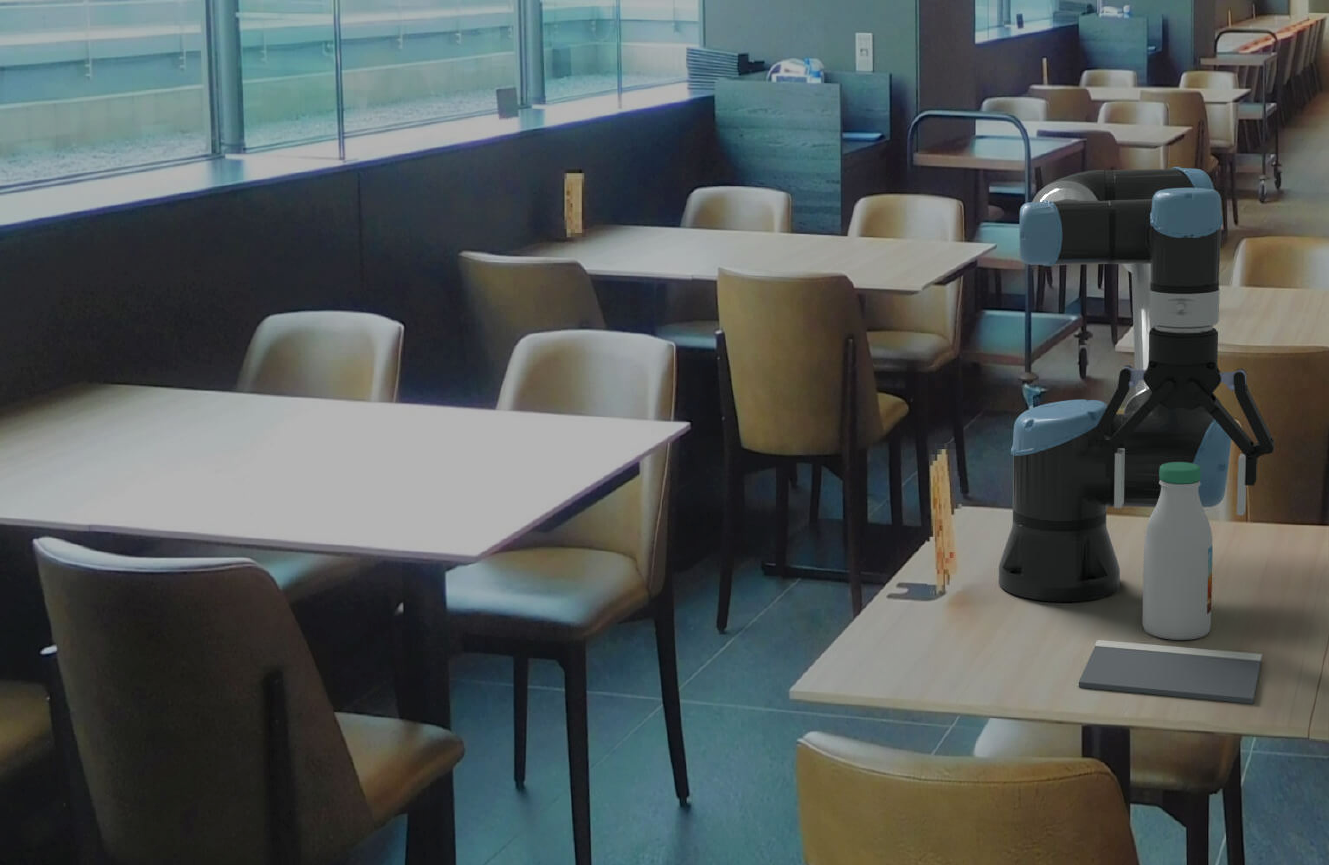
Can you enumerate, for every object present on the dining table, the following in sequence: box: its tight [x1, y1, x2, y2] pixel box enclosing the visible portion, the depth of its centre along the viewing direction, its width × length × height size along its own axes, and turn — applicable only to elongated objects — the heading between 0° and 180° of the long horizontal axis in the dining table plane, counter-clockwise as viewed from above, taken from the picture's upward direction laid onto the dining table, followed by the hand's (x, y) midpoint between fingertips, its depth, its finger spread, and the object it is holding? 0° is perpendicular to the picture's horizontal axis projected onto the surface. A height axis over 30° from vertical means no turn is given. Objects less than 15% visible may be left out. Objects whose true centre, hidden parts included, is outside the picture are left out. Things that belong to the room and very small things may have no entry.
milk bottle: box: [1142, 462, 1214, 641], centre depth 207 cm, size 8×8×20 cm
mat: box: [1078, 639, 1263, 705], centre depth 196 cm, size 18×14×1 cm
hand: (1179, 509), depth 205 cm, fingers open, 13 cm apart
